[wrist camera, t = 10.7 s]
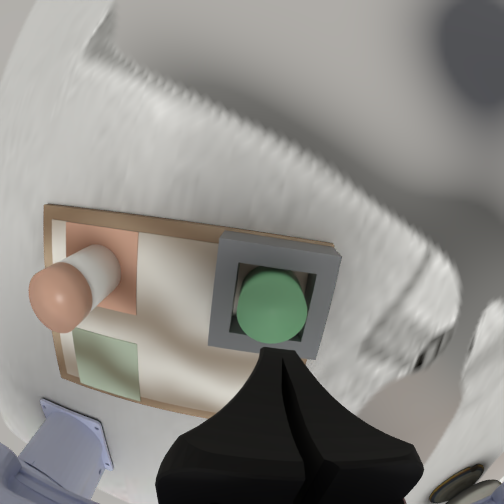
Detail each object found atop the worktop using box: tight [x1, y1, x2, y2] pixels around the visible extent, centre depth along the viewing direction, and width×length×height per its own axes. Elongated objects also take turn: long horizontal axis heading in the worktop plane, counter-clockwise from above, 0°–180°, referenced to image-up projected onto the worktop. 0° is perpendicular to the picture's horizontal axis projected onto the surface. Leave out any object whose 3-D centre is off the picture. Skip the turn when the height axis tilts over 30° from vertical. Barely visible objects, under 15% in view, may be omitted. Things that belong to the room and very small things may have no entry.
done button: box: [237, 266, 307, 344], centre depth 18 cm, size 4×4×3 cm
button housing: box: [208, 230, 342, 360], centre depth 19 cm, size 7×7×2 cm
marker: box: [29, 244, 121, 333], centre depth 17 cm, size 4×4×6 cm
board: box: [44, 204, 334, 419], centre depth 21 cm, size 16×21×1 cm
